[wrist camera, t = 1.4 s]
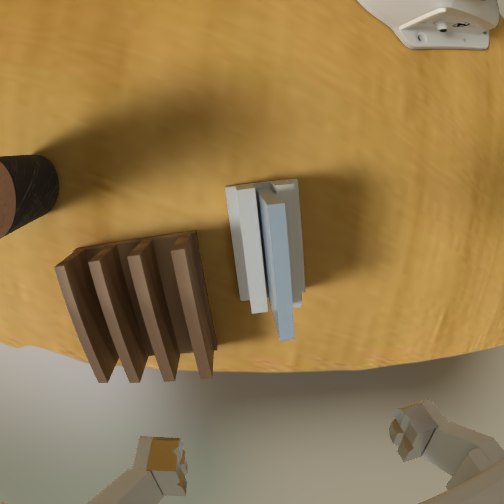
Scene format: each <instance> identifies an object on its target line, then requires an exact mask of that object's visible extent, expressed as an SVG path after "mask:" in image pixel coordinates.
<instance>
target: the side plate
mask: <svg viewBox="0 0 504 504" xmlns="http://www.w3.org/2000/svg"><path fill="white" fill-rule="evenodd" d="M256 193H257V202H258V211H259V220H260V229H261V239H262V248H263V257H264V267H265V276H266V286H267V294H268V298H269V302H270V306H271V309H272V313H273V317H274V321H275V324H276V328H277V332H278V336H279V339H280V341H285V340H291V339H295V338H294V320H293V303H292V288H291V274H290V260H289V247H288V235H287V223H286V211H285V203H284V202H283V201H282V200H281V199H280V198H279V197H278V196H277V195H276V194H275V193H274V192H273V191H272V190H271V189H270V188H261V189H256Z"/></svg>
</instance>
